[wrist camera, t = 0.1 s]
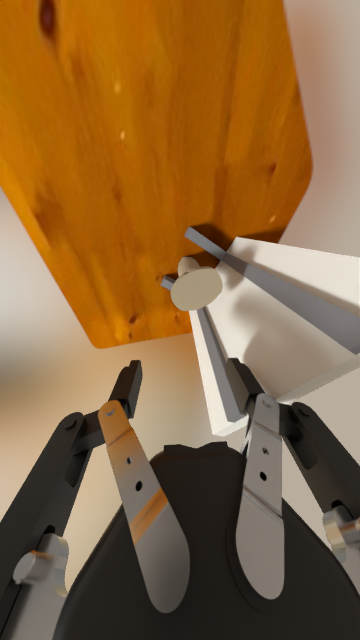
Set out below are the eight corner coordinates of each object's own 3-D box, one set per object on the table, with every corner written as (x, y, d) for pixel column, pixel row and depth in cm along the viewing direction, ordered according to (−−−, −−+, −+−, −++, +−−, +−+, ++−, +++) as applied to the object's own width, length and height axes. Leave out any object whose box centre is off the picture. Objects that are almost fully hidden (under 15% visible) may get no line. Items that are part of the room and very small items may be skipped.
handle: (204, 266, 30) (227, 295, 17) (178, 281, 31) (182, 317, 19) (195, 244, 27) (213, 259, 15) (167, 261, 29) (163, 287, 16)
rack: (198, 207, 24) (406, 54, 3) (242, 241, 27) (496, 296, 6) (156, 292, 33) (124, 420, 11) (193, 310, 36) (224, 436, 14)
